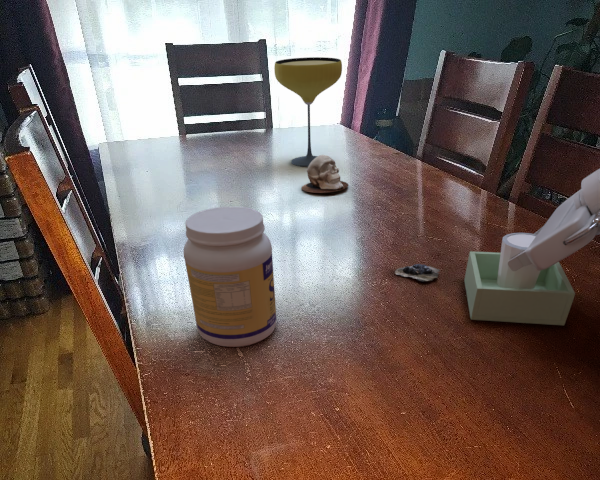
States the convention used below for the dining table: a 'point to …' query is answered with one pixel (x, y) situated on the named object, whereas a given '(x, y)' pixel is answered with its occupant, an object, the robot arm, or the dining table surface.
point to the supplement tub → (230, 275)
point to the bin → (516, 294)
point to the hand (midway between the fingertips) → (518, 255)
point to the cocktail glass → (308, 85)
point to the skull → (323, 176)
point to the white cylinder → (522, 276)
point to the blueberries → (418, 272)
